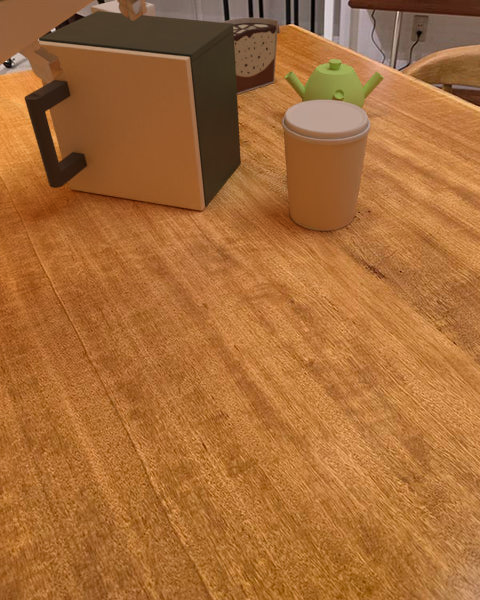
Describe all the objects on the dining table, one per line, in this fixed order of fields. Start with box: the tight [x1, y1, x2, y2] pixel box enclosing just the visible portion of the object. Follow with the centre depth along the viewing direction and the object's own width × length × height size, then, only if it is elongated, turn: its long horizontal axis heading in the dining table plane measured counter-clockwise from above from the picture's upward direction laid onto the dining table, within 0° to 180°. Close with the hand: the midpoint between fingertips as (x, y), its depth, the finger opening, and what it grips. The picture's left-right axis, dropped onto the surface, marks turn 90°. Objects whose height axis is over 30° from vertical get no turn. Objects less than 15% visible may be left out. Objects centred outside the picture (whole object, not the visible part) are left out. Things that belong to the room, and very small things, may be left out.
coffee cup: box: [281, 100, 371, 232], centre depth 66 cm, size 9×9×12 cm
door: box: [24, 40, 206, 212], centre depth 64 cm, size 7×18×17 cm, turn 74°
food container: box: [221, 17, 281, 96], centre depth 99 cm, size 12×6×10 cm, turn 135°
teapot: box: [284, 58, 385, 109], centre depth 90 cm, size 11×12×8 cm
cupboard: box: [38, 11, 242, 208], centre depth 71 cm, size 12×18×18 cm
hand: (93, 43), depth 48 cm, fingers open, 8 cm apart
